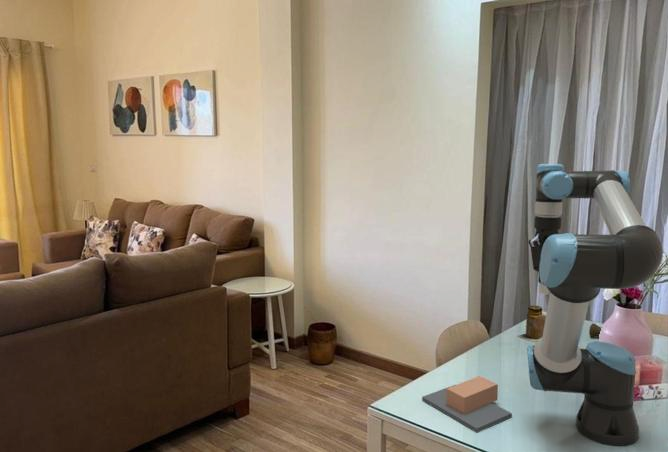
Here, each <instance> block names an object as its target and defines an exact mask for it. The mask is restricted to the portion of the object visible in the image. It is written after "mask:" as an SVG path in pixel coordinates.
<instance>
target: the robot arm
mask: <svg viewBox="0 0 668 452" xmlns="http://www.w3.org/2000/svg"><path fill="white" fill-rule="evenodd" d="M536 167H537V168H536V173H535V177H536V182H535V183H536V185H535V203H534V204H535V206H534V214H535V216H534V219H533V220H534V221H533V225H534V226H533V228H534V229H535V231H536V232H535V233H534V238H532V239H529V240H528V244H529V247H530V253H531V254H530V255H531V260H532V269H533V270H534V271H535V272H537V273H538V280H537V281H538V283H539V284H538V293H539V294H542V295H544V296H545V295H546V294H549V292H550V296H549V302H548V306H547V309H546V314H545V315H546V319H545V325H544V330H543V336H542V337H541V338H540V339H539V340H537V341H535V344H532V345H528V346H527V348H526V353H527V363H528V364H527V365H528V375H529V384H530V387H531V388H532V389H534V390H537V391H543V392H552V393H553V392H557V393H571V394H584V398H583V400H582V403H581V405H580V407H579V409H578V412H577V414H576V418H575V426H576V429H577V431H578V432H579V433H580V434H581V435H583V436H584V437H586V438H588V439H590V440H592V441H595V442H598V443H599V444H604V445H611V446H628V445H632V444H635V443H636V442H637V441H638V439H639V435H640V427H639V424H638V420H637V417H636V413H635V410H634V400H635V399H634V396H635V383H636V382H635V381H636V375H637V368H636V366H637V365H636V364H637V363H636V357H635V356H634V354H632V352H631V351H629V350H628V349H626V348H624V347H622V346H621V345H617V344H614V343H610V342H606V341H595V340H594V341H589V342H588V343H587V345H586V346H585V348H580V346H579V343H580V340H581V337H582V333H583V327H584V325H585V321H586V317H587V313H588V309H589V305H590V302H592V301H594V300H595V299H596V298H598V296H599V294H600V292H601V289H606V290H608V289H609V290H610V289H612V290H627V289H632V288H635V287H639V286H640V285H642V284H644V283H646V282H647V281H649V280H650V279H651V278H652V277H653V276H654V275H655V274H656V273H657V271H658V269H659V268H660V266H661V264H662V260H663V257H664V249H663V244H662V241H661V239H660V237H659V236H658V234H657V232H656V231H655V230H654V229H653V228H652V227H649V226H647V225H646V223H645V222H644V220H643V219H642V216H641V215H640V213H639V211H638V209H637V208H636V206H635V204H634V203H633V201H632V200H631V198H630V195H629V194H630V191H631V179H630V174H629V172H627V171H625V170H615V169H611V170H568V171H567V170H565V166H564V165H563V164H561V163H540V164H538V165H537V166H536ZM563 199H594V201H595V202H596V205H597V207H598V210H599V212H600V214H601V216H602V218H603V221H604V224H605V226H606V227H607V230H608V233H609V234H581V233H580V234H576V233H575V234H573V233H571V232H566V233H559V230H561V229H562V217H561V216H562V215H563Z"/></svg>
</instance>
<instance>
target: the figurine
mask: <svg viewBox="0 0 668 452" xmlns="http://www.w3.org/2000/svg"><path fill="white" fill-rule="evenodd" d="M545 319H546V314H543V315H539V316H537V317H536V318H535V320H534V325H533V326H534V328H536V329H537V330H538V335H539V337H540V338H541V337H542V336H543V330H544V325H545Z"/></svg>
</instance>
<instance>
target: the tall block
mask: <svg viewBox="0 0 668 452" xmlns="http://www.w3.org/2000/svg"><path fill="white" fill-rule="evenodd" d="M454 385H455V386H453V385H451V386H452V387H450V386H448V387H449V388H448V387H446V388H447V389H446V405H448V406H450V407H452V408H454V409H455V410H457V411H459V412H461V413H463V414H466V413H468V412H471V411H473V410H475V409H478V408H480V407H482V406H485V405H487V404H489V403H494V402H496V401H498V396H499V395H498V393H499V384H498V383H496V382H493V381H492V380H490V379H487V378H484V377H483V376H481V375H479V376H476V377H473V378H471V379H468V380H466V381H463V382H460V383H457V384H454Z"/></svg>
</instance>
